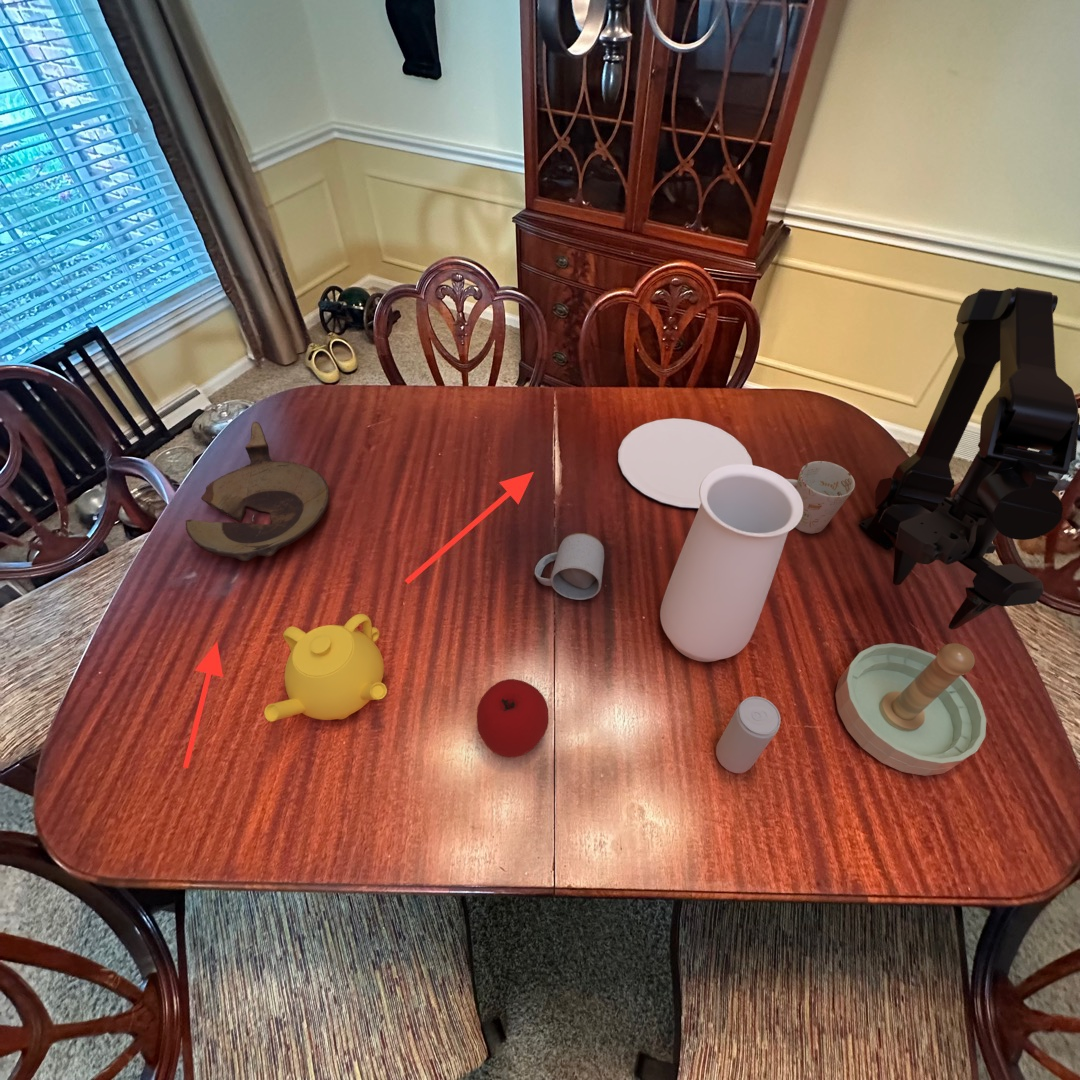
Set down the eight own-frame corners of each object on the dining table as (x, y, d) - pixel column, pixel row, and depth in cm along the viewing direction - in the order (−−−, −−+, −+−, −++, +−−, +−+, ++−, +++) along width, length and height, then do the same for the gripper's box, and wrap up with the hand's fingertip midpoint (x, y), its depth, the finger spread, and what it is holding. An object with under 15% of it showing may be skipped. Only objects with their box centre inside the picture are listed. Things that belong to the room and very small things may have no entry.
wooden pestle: (887, 687, 82) (946, 623, 70) (926, 710, 80) (994, 648, 68) (873, 715, 79) (932, 653, 67) (914, 739, 77) (982, 680, 65)
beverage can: (710, 739, 78) (732, 696, 69) (746, 736, 78) (773, 693, 69) (720, 776, 75) (745, 737, 66) (758, 773, 75) (788, 733, 66)
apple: (542, 772, 75) (542, 740, 68) (471, 761, 76) (464, 727, 69) (553, 704, 81) (554, 667, 74) (487, 694, 82) (482, 657, 75)
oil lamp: (172, 574, 96) (148, 543, 90) (246, 451, 115) (231, 419, 110) (309, 583, 95) (294, 552, 89) (360, 457, 114) (351, 425, 108)
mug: (834, 542, 100) (858, 499, 92) (757, 531, 102) (774, 488, 94) (829, 507, 105) (851, 464, 98) (755, 497, 107) (772, 454, 99)
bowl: (894, 645, 87) (910, 626, 83) (992, 744, 77) (1016, 727, 74) (807, 689, 82) (820, 671, 79) (900, 800, 73) (920, 785, 69)
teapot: (285, 748, 77) (254, 710, 69) (289, 657, 86) (262, 613, 77) (398, 724, 79) (381, 684, 71) (391, 638, 88) (376, 593, 80)
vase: (693, 687, 83) (745, 558, 62) (639, 618, 90) (669, 481, 69) (764, 647, 87) (836, 514, 66) (707, 584, 94) (755, 446, 73)
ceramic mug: (604, 562, 97) (607, 530, 91) (599, 603, 92) (602, 572, 86) (539, 555, 98) (538, 523, 93) (531, 595, 93) (529, 564, 87)
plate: (733, 421, 121) (735, 416, 120) (768, 510, 105) (771, 505, 104) (610, 423, 121) (610, 418, 120) (626, 513, 104) (627, 508, 103)
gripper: (871, 465, 75) (825, 568, 83) (1006, 545, 60) (933, 661, 68) (939, 464, 78) (888, 563, 86) (1082, 540, 63) (1004, 652, 71)
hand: (922, 605), depth 78 cm, fingers open, 9 cm apart
